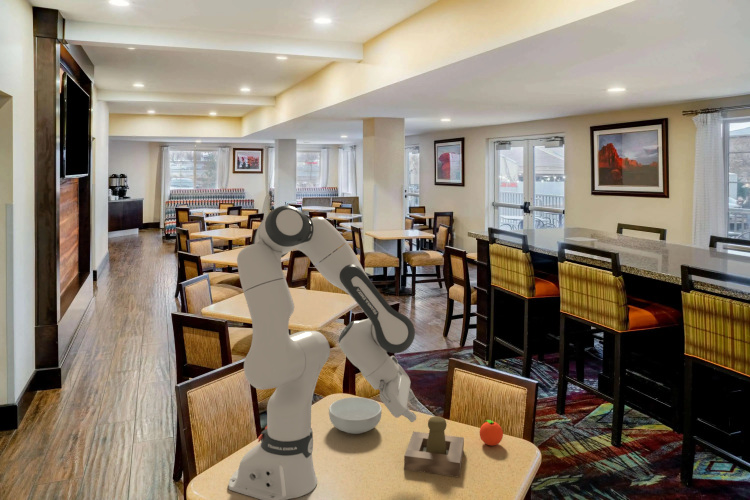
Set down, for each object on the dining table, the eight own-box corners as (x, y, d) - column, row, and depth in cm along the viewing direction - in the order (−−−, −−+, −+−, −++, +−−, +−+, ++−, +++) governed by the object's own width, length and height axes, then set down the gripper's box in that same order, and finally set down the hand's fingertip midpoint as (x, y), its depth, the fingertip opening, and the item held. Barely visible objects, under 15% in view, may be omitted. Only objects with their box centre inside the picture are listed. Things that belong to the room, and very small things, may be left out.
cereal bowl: (324, 419, 178) (324, 399, 178) (373, 414, 183) (373, 394, 182) (334, 443, 162) (334, 421, 161) (387, 437, 167) (388, 415, 166)
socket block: (404, 469, 148) (404, 455, 148) (412, 444, 163) (413, 431, 162) (459, 477, 145) (459, 463, 144) (463, 450, 159) (463, 437, 159)
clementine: (473, 439, 167) (474, 416, 166) (493, 436, 169) (494, 414, 168) (486, 451, 159) (487, 428, 158) (507, 448, 161) (508, 425, 160)
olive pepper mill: (446, 461, 150) (447, 423, 149) (424, 459, 151) (425, 421, 150) (447, 451, 156) (448, 414, 155) (426, 448, 157) (427, 412, 156)
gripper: (387, 382, 137) (422, 423, 138) (394, 353, 157) (425, 389, 158) (369, 397, 138) (403, 437, 139) (378, 366, 158) (408, 401, 159)
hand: (415, 411), depth 149 cm, fingers open, 8 cm apart
